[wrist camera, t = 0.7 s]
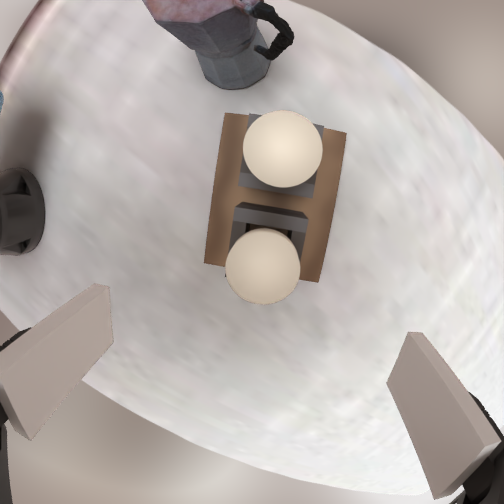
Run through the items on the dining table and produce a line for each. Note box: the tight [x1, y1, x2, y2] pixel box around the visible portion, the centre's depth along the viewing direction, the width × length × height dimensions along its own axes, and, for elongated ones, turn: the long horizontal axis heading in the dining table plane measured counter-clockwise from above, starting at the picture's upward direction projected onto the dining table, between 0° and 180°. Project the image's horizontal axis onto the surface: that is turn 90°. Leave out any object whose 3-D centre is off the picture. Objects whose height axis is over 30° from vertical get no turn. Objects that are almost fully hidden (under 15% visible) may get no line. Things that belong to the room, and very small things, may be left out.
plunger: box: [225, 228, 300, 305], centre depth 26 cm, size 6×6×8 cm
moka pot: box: [142, 0, 294, 89], centre depth 22 cm, size 10×15×20 cm, turn 55°
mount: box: [204, 113, 347, 289], centre depth 31 cm, size 14×18×8 cm
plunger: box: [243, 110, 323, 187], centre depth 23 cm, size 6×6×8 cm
